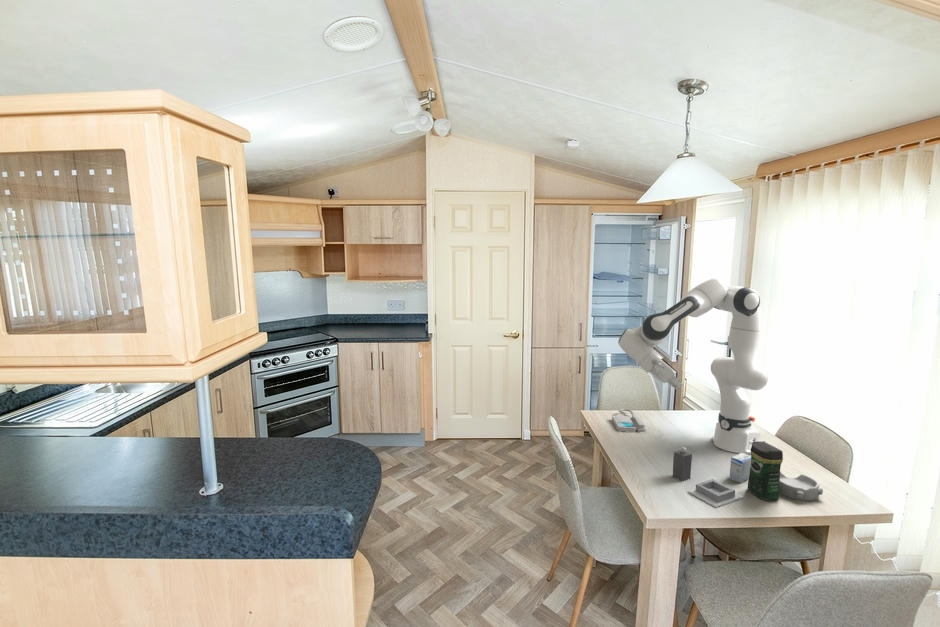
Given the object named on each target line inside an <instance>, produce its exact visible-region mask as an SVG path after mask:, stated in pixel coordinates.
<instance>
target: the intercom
mask: <svg viewBox="0 0 940 627" xmlns="http://www.w3.org/2000/svg"><path fill="white" fill-rule="evenodd" d="M626 412H629V413H630V414H631V417H630V416H628V415H627V413H626ZM618 413H620V414H623V415H613V416H611V422H612V423H613V422H614V423H613V425H614V424H615V425H614V427H615V426H616V427H615V428H616V430H617V432H619V431H628V432H627V433H636V432H637V431H638V432H637V433H640V432H645V433H646V431H647V427H646V423H645V422H644V421H643V419H642V418H641V417H640V415H639V414H636V413H634V412H633V411H632V410H631V409H629V408H619V409H618Z"/></svg>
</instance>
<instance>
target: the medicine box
mask: <svg viewBox="0 0 940 627" xmlns="http://www.w3.org/2000/svg"><path fill="white" fill-rule="evenodd" d="M750 467H751V454H746V453H738V454H736V455H734V456H732V457H730V467H729V477H728V478H729V479H730V480H732V479H733V480H732V481H734V480H735V482H737V483H739V482H740V483H739V484H742V483H743V482H745V481H748V480H749V474H750Z"/></svg>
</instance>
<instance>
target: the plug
mask: <svg viewBox="0 0 940 627" xmlns="http://www.w3.org/2000/svg"><path fill="white" fill-rule="evenodd" d="M692 457H693V454H692V453H690V452H688V451H687V448H686V447H685V446H681V447H680V449H679V450H676V451H673V459H672V460H673V461H672V462H673V464H672V477H673V478H674V479H676V478H677V480H678V479H679V480H678V481H680V480H681V481H680V482H682V481H683V482H686V481H688V479H689V480H691V475H692V461H693V458H692Z"/></svg>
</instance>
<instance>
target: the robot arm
mask: <svg viewBox="0 0 940 627" xmlns="http://www.w3.org/2000/svg"><path fill="white" fill-rule="evenodd" d="M760 298H761V297H760V294H759V292H758V291H756V290H755V289H754V288H751V287H747V286H746V287H745V286H741V285H726V283H725V282H724V281H722V280H720V279H718V278H710V279H708V280H706V281H704V282H701V283H700V284H698V285H696V286H695V287H693V288H692V289H690V290H689V291H688V292H686V294H684V295H683V296H682V297H681V298H680V300H679V302H677V303H676V304H674V305H672V306H670V307H668V309H667V310H665V311H662V312H659V313H654V314H651V315H648V316H647V317H646V318H645V319H644V320H643V323H642V325H640V326H637V327H634V328H627V329H625V330H624V331H623V332H622V334H621V335H620V337H619V339H618V342H617V343H618V346H619V347H620V348H621V350H623V352H624V353H625V354H626V355H628V357H630V358H631V359H633V360H634V361H635V362H636V364H637V365H638V366H639V367H640V369H642V370H643V371H645V372H646V373H647V374H648V373H650V374H651V375H653V376H654V377H655V378H657V379H658V380H659V381H660V382H662V383H664V384H666V383H667V384H668V385H670V386H671V387H673V388H674V390H679V389H681V387H683V386H684V385H683V383H682V382H681V381H680V380H679V379H678V378H677V376H676V374H677V373H676V372H675V371H674V370H673V368H671V367H670V366H669V365H668V364H666V363H665V362H664V361H663V359H664V356H662V354H660V353H659V352H658V351H657V350H656V349H654V348H655V347H657V346H659V345H660V344H661V343H662V341H663V340H664V339H665V338H666V337H667V336H669V334H670V333H671V330H672V329H673V327H674V326H675V325H676V324H678V323H679V322H681V321H682V320H683V319H685V318H686V317H692V318H698V317H701V316H702V315H704V314H706V313H708V312H710V311H712V309H713V308H714V309H716V310H720V311H724V312H729V313H731V314H732V319H731V322H730V328H729V335H728V340H727V345H728V347H729V349H730V350H731V351H732V353H733V354H732V355H733V357H728V356H718V357H716V358H714V359H713V361H712V362H711V364H710V373H711V374H712V375H713V376H714V378H715V380H716V383H717V386H718V390H719V394H720V409H719V410H720V411H719V413H718V417H717V418H718V420H717V421H718V422H716V425H715V428H714V434H713V436H711V440H713V445H714V446H715V447H716V448H719V449H722V450H723V451H726V452H732V453H735V454H736V453H738V454H740V453H744V454H747V455H751V446H752V444H753V443H754V442H757V441H761V433H760V432H759V430H757V429H756V428H755V427H754V426H753V425H752V422H755V420H756V417H755V416H751V415H750V411H751V410H750V408H751V400H750V398H749V396H748V395H747V393H746V392H745V390H748V391H760V390H762V389H764V388H765V387H766V385H767V383H768V381H769V380H768V378H769V376H768V372H767V371H766V370H765V369H764V368H763V366H762V364H761V360H760V358H759V341H760V335H761V327H762V310H761V308H760V304H761V299H760Z"/></svg>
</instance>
